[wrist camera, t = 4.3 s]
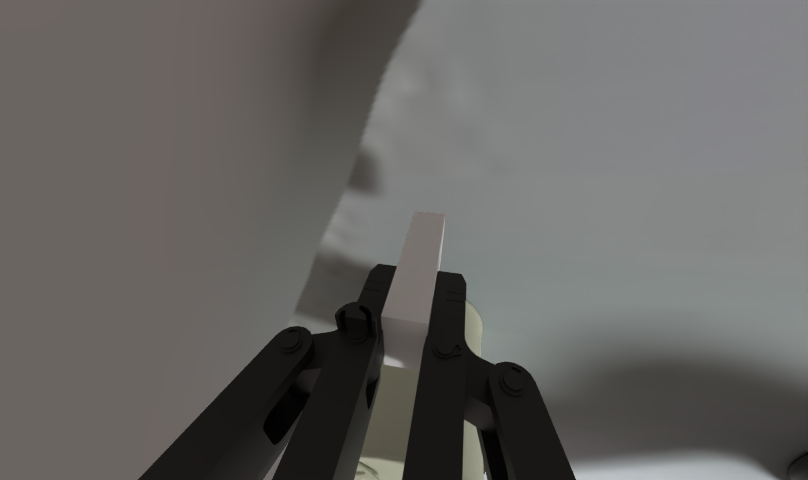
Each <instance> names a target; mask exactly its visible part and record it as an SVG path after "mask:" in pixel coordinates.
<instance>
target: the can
mask: <svg viewBox="0 0 808 480" xmlns="http://www.w3.org/2000/svg"><path fill="white" fill-rule="evenodd" d="M481 336H482V322H481V318H480V316H479V314H478V312H477V311H476V310H475V308H474V307H473V306H472V305H471V304H470V303H469V302H468V301H467V300H466V311H465V340H466V343H467V345H468V347H469V348H470V349H471V351H472V352H473V353H475V354H476V355H477V356H479V357H480V358H481ZM419 372H420V371H417V370H411V369H406V368H400V367H395V366H390V365H384V359H383V363H382V366H381V379H380V384H379V387H378V391H377V395H376V399H375V403H374V406H373V410H372V414H371V418H370V422H369V425H368V429H367V433H366V437H365V441H364V444H363V448H362V452H361V456H360V459H359V463H358V467H357V471H356V475H355V478H354V480H402V476H403V470H404V464H405V457H406V451H407V445H408V439H409V433H410V427H411V421H412V415H413V408H414V402H415V396H416V390H417V384H418V378H419ZM462 480H484V471H483V456H482V452H481V447H480V443H479V438H478V434H477V429H476V426H474V425H472V424H471V423H469V422H467V421H466V420H464V440H463V475H462Z"/></svg>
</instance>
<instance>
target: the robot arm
mask: <svg viewBox="0 0 808 480" xmlns="http://www.w3.org/2000/svg"><path fill="white" fill-rule="evenodd" d="M444 223H445V214H435V213H425V212H415V213H414V216H413V219H412V222H411V225H410V228H409V231H408V234H407V237H406V240H405V244H404V247H403V250H402V253H401V256H400V259H399V262H398V265H397V266H391V265H383V264H378V265H377V266H376V267H374V268H373V269H372V270H371V271H370V273H369V276H368V278H367V281H366V283H365V285H364V287H363V290H362V292H361V294H360V297H359V299H358V301H357V302H353V303H349V304H346V305H344V306H343V307H341V308H340V309H339V310H338V311H337V313H336V314H335V318H336V323H337V327H338V329H337V330H335V331H332V332H327V333H320V334H312V335H311V333H310V331H309V330H308V329H306V328H305V327H300V326H295V327H289V328H287V329H284V330H282V331H281V332H280V333H278V334H277V335H276V336H275V337H274V338H273V339H272V340H271V341H270V342H269V343H268V344H267V345H266V346H265V347H264V348H263V349H262V350H261V352H260V353H259V354H258V355H257V356H256V357H255V358H254V359H253V360H252V361H251V362H250V363H249V364H248V365H247V366H246V367H245V368H244V369H243V371H241V372H240V373H239V375H238V376H237V377H236V378H235V379H234V380H233V381H232V382H231V383H230V384H229V385H228V386H227V387H226V388H225V389H224V390H223V391H222V392H221V393H220V394H219V395H218V396H217V398H216V399H215V400H214V401H213V402H212V403H211V404H210V405H209V406H208V407H207V408H206V409H205V410H204V411H203V412H202V413H201V414H200V416H198V417H197V419H196V420H195V421H194V422H193V423H192V424H191V425H190V426H189V427H188V428H187V429H186V430H185V431H184V432H183V433H182V434H181V435H180V436H179V437H178V438H177V439H176V440H175V441H174V443H173V444H172V445H171V446H170V447H169V448H168V449H167V450H166V451H165V452H164V453H163V454H162V455H161V456H160V457H159V458H158V459H157V460H156V461H155V463H153V465H152V466H151V467H150V468H149V469H148V470H147V471H146V472H145V473H144V474H143V475H142V476H141V477H140V478H139V479H138V480H263V479H264V477H265V476H266V474H267V473H268V471H269V470H270V468H271V466H272V465H273V464H274V462H275V461H276V459H277V458H278V457H279V455H280V454H281V452H282V451H283V449H284V448H285V446H286V445H287V443H288V442H289V443H288V445H287V447H286V450H285V452H284V454H283V456H282V459H281V461H280V463H279V465H278V467H277V470H276V472H275V474H274V476H273V479H272V480H354V478H355V475H356V471H357V467H358V463H359V459H360V456H361V452H362V448H363V444H364V441H365V437H366V433H367V429H368V425H369V422H370V418H371V414H372V410H373V406H374V403H375V399H376V395H377V391H378V387H379V384H380V379H381V366H382V363H383V359H384V365H390V366H395V367H400V368H406V369H411V370H417V371H420V372H419V378H418V384H417V390H416V396H415V402H414V408H413V415H412V421H411V427H410V433H409V439H408V445H407V451H406V457H405V464H404V470H403V476H402V480H462V475H463V440H464V420H466V421H467V422H469V423H471V424H472V425H474V426H476V429H477V434H478V438H479V443H480V447H481V452H482V456H483V461H484V466H485V470H486V475H487V479H488V480H576V479H575V476H574V474H573V471H572V469H571V467H570V464H569V462H568V459H567V457H566V455H565V452H564V450H563V447H562V445H561V443H560V440H559V438H558V435H557V433H556V431H555V428H554V426H553V423H552V421H551V418H550V416H549V414H548V411H547V409H546V406H545V404H544V402H543V399H542V397H541V394H540V392H539V390H538V387H537V385H536V382H535V381H534V379H533V377H532V376H531V374H530V373H529V372H528V371H527V370H525V369H524V368H523V367H522V366H519V365H517V364H515V363H512V362H501V363H497V364H496V365H494V364H492V363H490V362H488V361H486V360H484V359H482V358H480V357H479V356H477V355H476V354H475V353H473V352H472V351H471V349H470V348H469V347H468V345H467V343H466V340H465V311H466V282H465V280H464V278H463V276H462V274H457V273H449V272H442V271H439V268H440V261H441V253H442V243H443V233H444ZM289 440H290V441H289ZM788 477H789V480H808V455H806V456H804V457H802V458H801V459H799V460H797V461H796V462H795V463H794V464H793V465H792V466H791V467H790V468H789V471H788Z"/></svg>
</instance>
